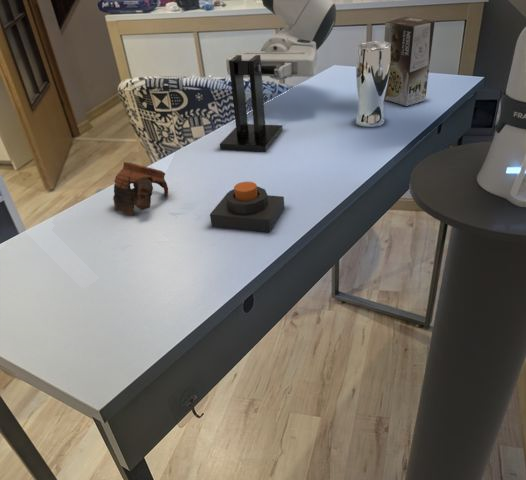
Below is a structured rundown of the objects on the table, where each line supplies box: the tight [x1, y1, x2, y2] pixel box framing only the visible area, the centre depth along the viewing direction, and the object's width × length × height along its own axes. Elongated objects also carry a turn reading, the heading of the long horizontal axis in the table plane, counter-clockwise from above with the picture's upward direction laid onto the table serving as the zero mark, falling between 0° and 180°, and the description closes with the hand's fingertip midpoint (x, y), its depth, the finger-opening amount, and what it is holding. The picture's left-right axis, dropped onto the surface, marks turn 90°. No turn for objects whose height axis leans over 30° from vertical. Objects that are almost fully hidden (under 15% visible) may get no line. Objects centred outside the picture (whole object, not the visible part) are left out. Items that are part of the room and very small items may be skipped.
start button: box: [233, 181, 258, 201], centre depth 83 cm, size 4×4×2 cm
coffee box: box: [383, 16, 436, 107], centre depth 118 cm, size 9×6×16 cm
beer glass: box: [355, 40, 391, 128], centre depth 109 cm, size 7×7×15 cm
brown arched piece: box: [112, 161, 169, 216], centre depth 90 cm, size 12×10×8 cm
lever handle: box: [238, 61, 276, 75], centre depth 106 cm, size 12×6×2 cm, turn 162°
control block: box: [209, 185, 285, 233], centre depth 84 cm, size 10×8×4 cm
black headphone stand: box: [219, 55, 283, 153], centre depth 106 cm, size 12×10×16 cm
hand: (260, 73), depth 110 cm, fingers closed on lever handle, 6 cm apart
